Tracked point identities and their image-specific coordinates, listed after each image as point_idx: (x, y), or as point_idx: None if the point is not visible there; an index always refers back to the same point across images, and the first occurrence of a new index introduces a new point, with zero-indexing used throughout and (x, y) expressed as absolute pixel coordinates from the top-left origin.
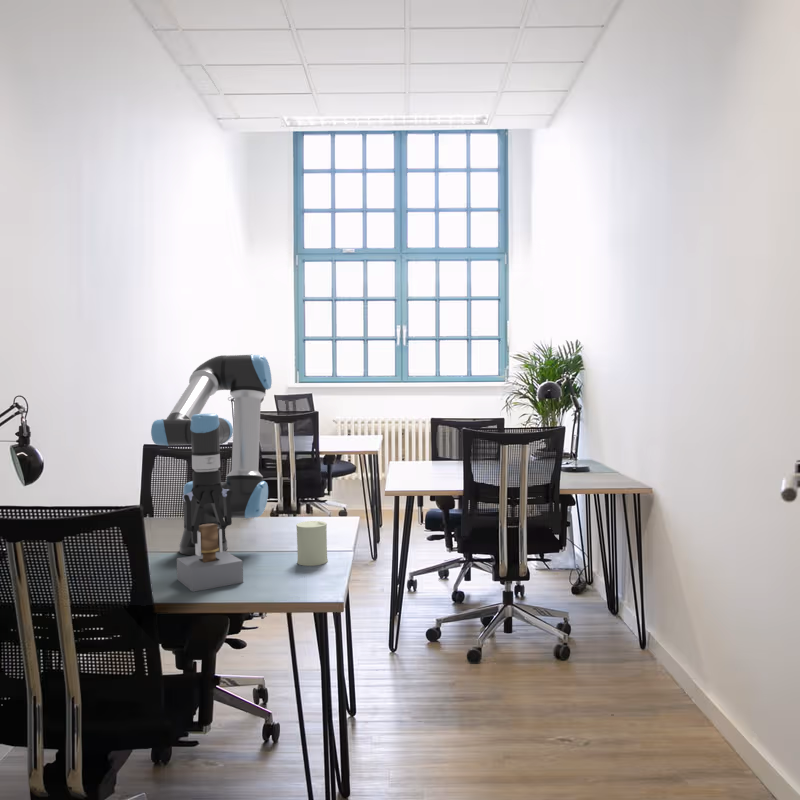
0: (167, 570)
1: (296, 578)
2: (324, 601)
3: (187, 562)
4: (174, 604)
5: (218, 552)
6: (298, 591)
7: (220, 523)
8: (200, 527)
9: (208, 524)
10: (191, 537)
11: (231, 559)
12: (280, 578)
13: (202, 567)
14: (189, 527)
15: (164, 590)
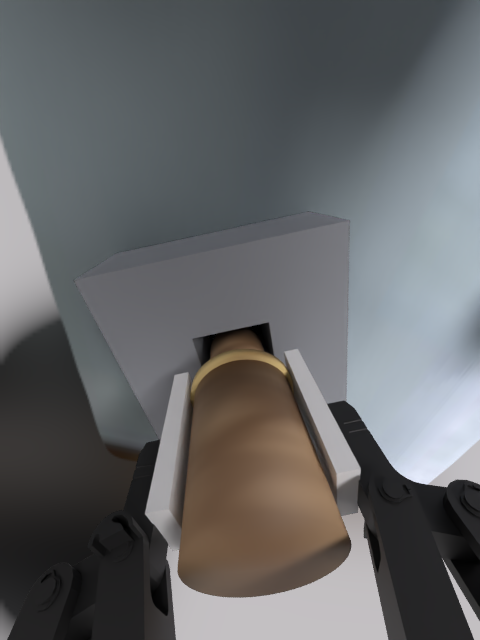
0: (25, 19)
1: (442, 377)
2: None
3: (143, 373)
4: (137, 456)
5: (306, 245)
6: (389, 451)
7: (375, 574)
8: (192, 585)
9: (278, 539)
10: (132, 480)
11: (319, 387)
12: (413, 364)
13: None
14: (91, 635)
15: (91, 359)
